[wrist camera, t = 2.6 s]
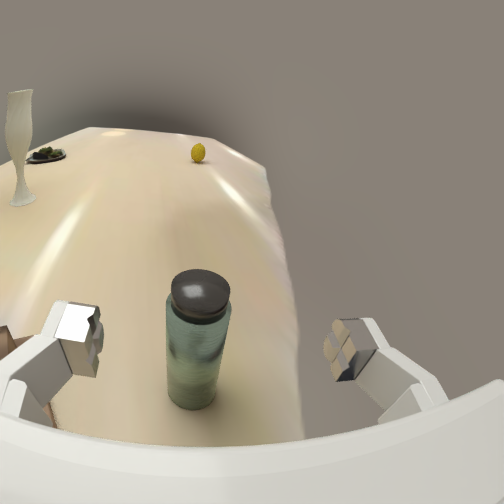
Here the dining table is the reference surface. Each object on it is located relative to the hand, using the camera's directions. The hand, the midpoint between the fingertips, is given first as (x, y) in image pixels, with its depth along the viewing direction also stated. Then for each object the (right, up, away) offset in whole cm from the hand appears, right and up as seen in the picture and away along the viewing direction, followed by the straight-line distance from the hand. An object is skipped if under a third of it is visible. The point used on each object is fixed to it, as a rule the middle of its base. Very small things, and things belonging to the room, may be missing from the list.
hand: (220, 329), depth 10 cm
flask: (-6, -14, +22) cm, 27 cm away
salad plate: (-82, +40, +84) cm, 124 cm away
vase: (-62, +17, +52) cm, 82 cm away
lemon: (-20, +37, +102) cm, 110 cm away
